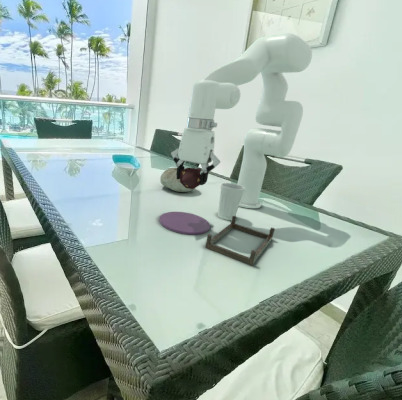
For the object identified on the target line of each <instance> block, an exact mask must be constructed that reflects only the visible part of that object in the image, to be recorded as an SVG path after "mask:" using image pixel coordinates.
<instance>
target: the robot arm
mask: <svg viewBox="0 0 402 400" xmlns="http://www.w3.org/2000/svg"><path fill="white" fill-rule="evenodd" d="M312 58H313V51H312V48H311V45H310V44H309V43H307V42H306V41H305V40H304V39H303V38H301V37H300V36H298V35H296V34H294V33H290V32H289V33H280V34H271V35H265V36H262V37H259V38H257V39H256V40H255V41H254V42H253V43H251V45H250V46H248V47H247V48H246V49H245V50H244V52H242V53H241V55H240V56H239V57H237V58H236V59H235V60H232V61H230V62H228V63H226V64H224V65H222V66H220V67H218V68H216V69H214V70H211V72H209V73H208V74H206V75H205V77H204V78H203V79H198V80H195V81H194V82H193V83H192V87H191V94H190V99H189V100H190V101H189V108H188V114H187V120H186V121H187V122H186V127H184V130H183V131H182V135H181V138H180V142H179V146H178V148H176V149H175V150H173V151H171V152H170V155H171V157H172V159H173V162H174V163H175V167H177V173H176V175H177V179H180V174H181V171H182V170H184V168H185V166H184V165H185V164H186V162H188V163H192V164H199V165H200V166H201V170H202V171H201V172H200V174H201V177H200V182H199V184H200V185H199V186H203V185H206V183H207V182H208V179H209V178H208V177H209V173H210V172H211V171H212V170H214V169H215V168H217V166H219V165H220V164H221V160H220V159H219V158H218V156H216V155H215V137H216V136H215V130H213V129H214V128H217V127H218V123H217V122H215V113H216V110H229V109H233V108H234V107H235V106H237V104H238V103H239V102H240V99H241V90H240V88H239V87H238V86H241V85H244V84H248V83H250V82H252V81H254V80H255V79H256V78H257V77H258V76H259V75H261V78H262V83H263V87H262V91H261V95H260V98H259V102H258V106H257V108H256V112H255V122H256V123H257V124H259V125H262V126H268V127H278V128H281V129H280V130H278V129H277V130H276V129H271V128H260V127H255V128H252V129H250V130H248V131H247V132H246V133H245V135H244V139H243V154H242V155H243V156H242V160H241V165H240V169H239V174H238V179H237V183H236V184H238V185H241V186H243V187H244V188H245V189H244V192H243V195H242V197H241V201H240V204H239V207H241V208H246V209H260V208H261V207H262V202H260V203H258V201H259V199H260V196H261V191H262V187H263V183H264V179H265V175H266V171H267V168H268V167H267V166H268V162H267V159H266V156H265V155H267V156H272V157H279V158H284V157H286V156H288V155H289V154H290V152H291V151H292V148H293V146H294V143H295V140H296V137H297V134H298V131H299V128H300V126H301V122H302V119H303V115H304V108H303V107H304V106H303V104H302V103H301V102H299V101H297V100H286V97H287V94H288V89H289V84H288V81H287V79H286V77H285V76H284V74H288V73H289V74H291V73H300V72H303V71H305V70H306V69H307V68H308V67H309V65H310V64H311V62H312ZM210 163H211V164H210Z"/></svg>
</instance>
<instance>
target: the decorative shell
mask: <svg viewBox="0 0 402 400" xmlns="http://www.w3.org/2000/svg"><path fill="white" fill-rule="evenodd" d="M186 168H187V167H184V169H186ZM176 173H177V166H175V167H169V168H168V169H166V170H164V171H163V172H162V173H161V176H160V178H159V179H160V184H161V185H162V186H164V187H165V188H167V189H170V190H171V191H175V192H180V193H189V192H192V191H193V190H195V189H189V188H185V187H184V186H183V185H182V184H181V183H180V179H177V175H176Z"/></svg>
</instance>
